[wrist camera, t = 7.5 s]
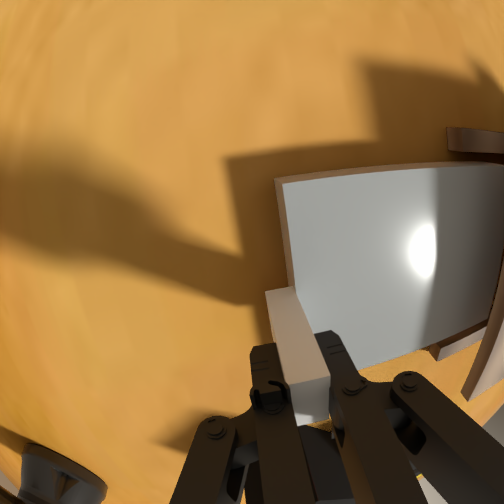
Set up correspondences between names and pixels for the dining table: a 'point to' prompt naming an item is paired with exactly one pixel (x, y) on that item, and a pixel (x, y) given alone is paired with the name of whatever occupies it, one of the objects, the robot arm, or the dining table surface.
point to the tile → (393, 251)
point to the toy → (313, 470)
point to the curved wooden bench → (500, 318)
